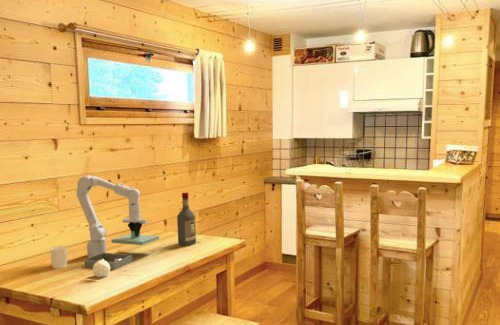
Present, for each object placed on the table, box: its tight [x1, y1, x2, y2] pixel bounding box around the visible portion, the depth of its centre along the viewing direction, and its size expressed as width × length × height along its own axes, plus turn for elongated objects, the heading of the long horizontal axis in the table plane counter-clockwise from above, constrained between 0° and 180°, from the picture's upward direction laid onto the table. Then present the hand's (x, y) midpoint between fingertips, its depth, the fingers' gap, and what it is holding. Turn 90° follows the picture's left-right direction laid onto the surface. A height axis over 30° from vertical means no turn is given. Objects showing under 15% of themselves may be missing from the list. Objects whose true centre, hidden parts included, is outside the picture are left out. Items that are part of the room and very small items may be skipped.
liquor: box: [176, 192, 197, 247], centre depth 268 cm, size 9×9×30 cm
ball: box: [92, 260, 111, 278], centre depth 211 cm, size 8×8×8 cm
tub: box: [83, 252, 133, 271], centre depth 229 cm, size 18×14×4 cm
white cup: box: [49, 245, 68, 269], centre depth 228 cm, size 8×8×10 cm
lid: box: [111, 231, 160, 246], centre depth 246 cm, size 19×15×5 cm
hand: (135, 236), depth 246 cm, fingers closed on lid
